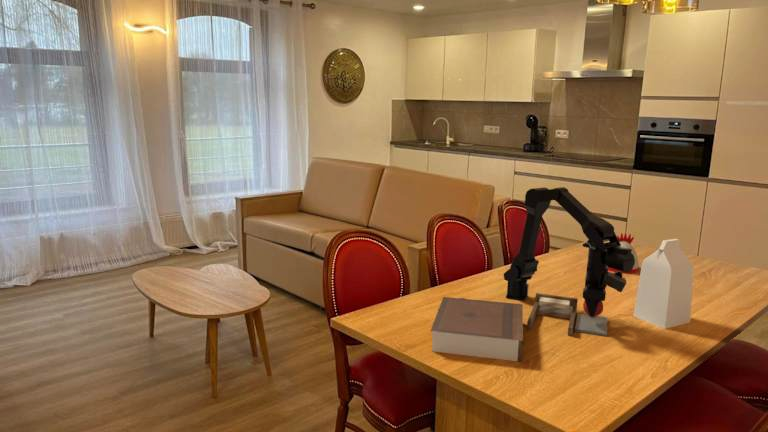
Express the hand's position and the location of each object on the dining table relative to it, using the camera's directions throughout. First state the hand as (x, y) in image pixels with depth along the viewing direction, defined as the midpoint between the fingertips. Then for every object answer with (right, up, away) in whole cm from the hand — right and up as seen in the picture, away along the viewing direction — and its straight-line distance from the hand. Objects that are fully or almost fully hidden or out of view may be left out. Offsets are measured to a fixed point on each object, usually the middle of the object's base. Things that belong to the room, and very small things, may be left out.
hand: (592, 312), depth 177 cm
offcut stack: (-9, -2, +9) cm, 13 cm away
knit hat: (+34, +8, +62) cm, 72 cm away
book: (-36, -6, -9) cm, 38 cm away
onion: (0, -2, 0) cm, 2 cm away
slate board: (0, -4, +1) cm, 4 cm away
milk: (+25, -3, +7) cm, 26 cm away
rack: (-11, -3, +4) cm, 12 cm away
